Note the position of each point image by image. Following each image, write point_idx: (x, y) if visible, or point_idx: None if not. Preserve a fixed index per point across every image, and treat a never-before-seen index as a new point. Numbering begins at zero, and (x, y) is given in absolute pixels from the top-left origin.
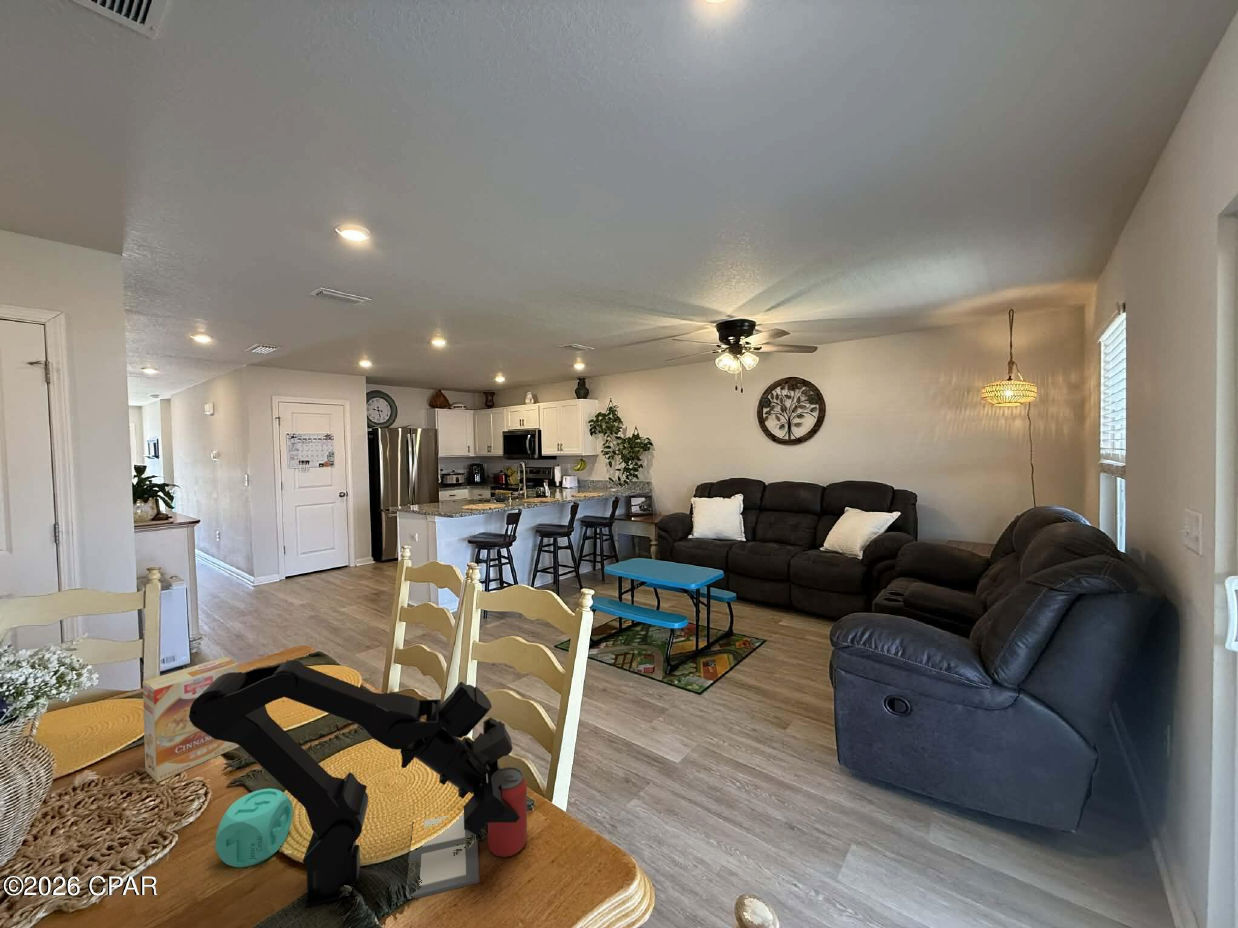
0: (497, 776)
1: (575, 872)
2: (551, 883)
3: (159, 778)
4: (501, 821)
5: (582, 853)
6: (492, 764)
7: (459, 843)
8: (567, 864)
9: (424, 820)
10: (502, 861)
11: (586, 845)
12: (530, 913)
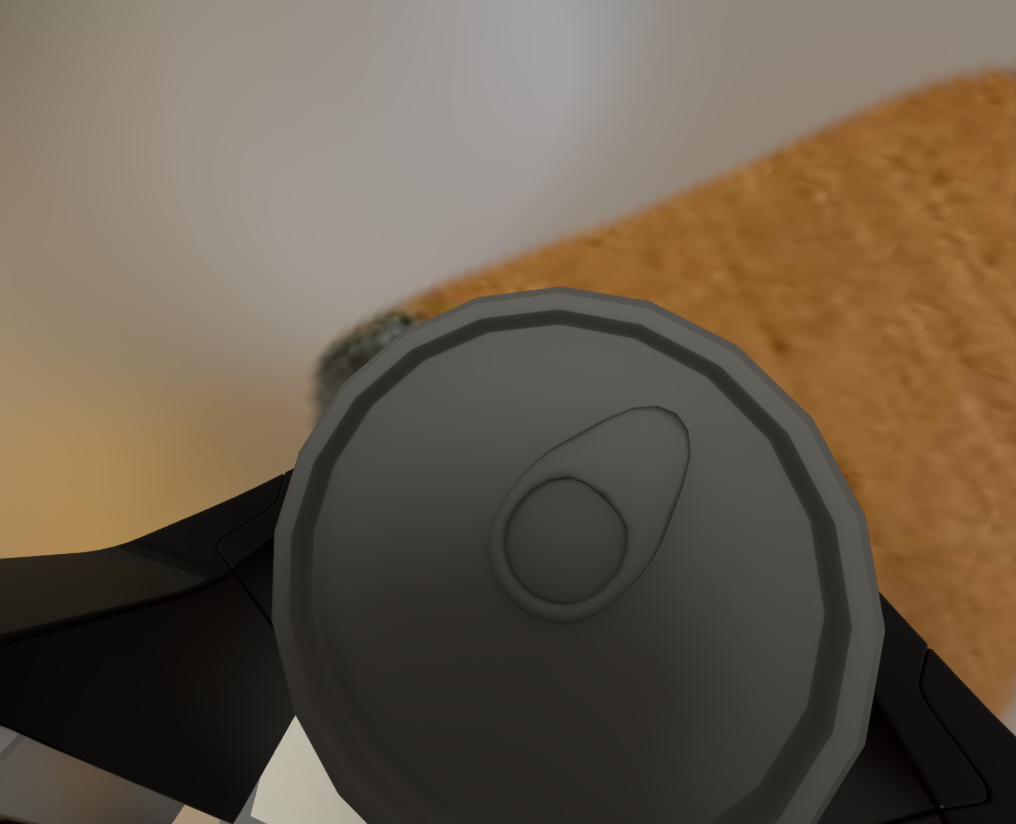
0: (402, 694)
1: (899, 277)
2: (914, 395)
3: None
4: None
5: (800, 215)
6: (113, 689)
7: None
8: (833, 294)
9: (254, 814)
10: None
11: (762, 185)
12: None
